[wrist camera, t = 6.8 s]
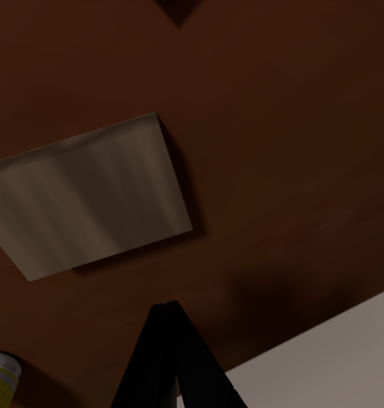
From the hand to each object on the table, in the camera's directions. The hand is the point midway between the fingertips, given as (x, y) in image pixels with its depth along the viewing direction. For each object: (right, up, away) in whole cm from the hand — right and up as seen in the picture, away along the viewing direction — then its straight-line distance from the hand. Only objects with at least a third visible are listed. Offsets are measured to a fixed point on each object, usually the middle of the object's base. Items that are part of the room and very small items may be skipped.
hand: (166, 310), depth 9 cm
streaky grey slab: (0, +6, +9) cm, 10 cm away
